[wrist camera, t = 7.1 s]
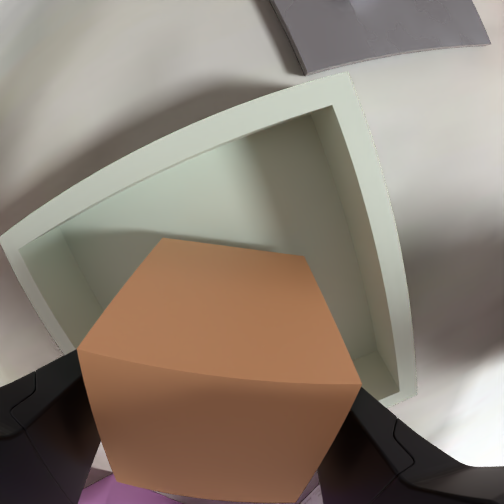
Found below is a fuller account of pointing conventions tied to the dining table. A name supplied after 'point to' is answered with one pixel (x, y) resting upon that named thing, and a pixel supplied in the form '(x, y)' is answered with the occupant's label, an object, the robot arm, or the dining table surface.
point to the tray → (238, 221)
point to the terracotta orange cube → (218, 374)
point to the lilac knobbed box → (120, 494)
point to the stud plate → (375, 29)
